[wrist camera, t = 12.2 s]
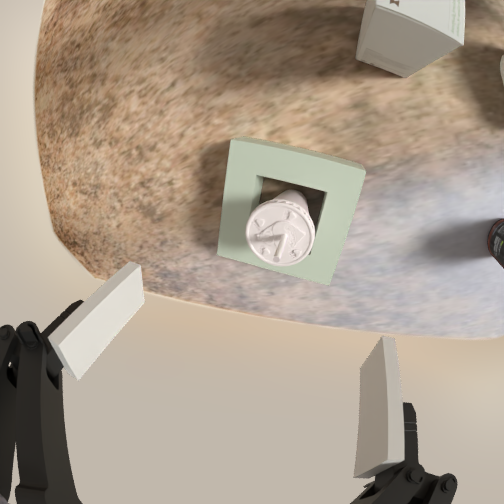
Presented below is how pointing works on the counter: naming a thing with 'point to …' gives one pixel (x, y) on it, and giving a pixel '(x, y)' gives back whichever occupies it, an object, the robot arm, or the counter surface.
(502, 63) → the toilet paper
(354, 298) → the counter surface
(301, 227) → the smoothie
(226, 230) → the block
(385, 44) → the skincare box
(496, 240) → the supplement bottle
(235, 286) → the counter surface
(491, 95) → the counter surface
